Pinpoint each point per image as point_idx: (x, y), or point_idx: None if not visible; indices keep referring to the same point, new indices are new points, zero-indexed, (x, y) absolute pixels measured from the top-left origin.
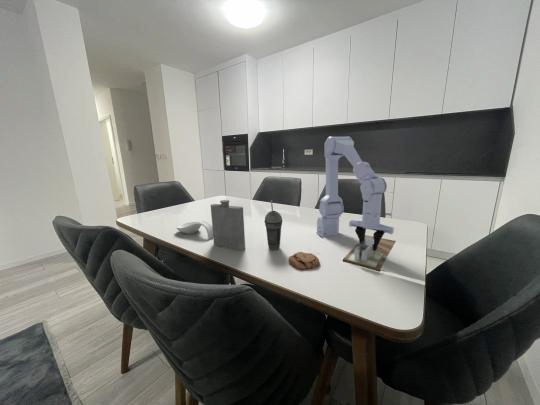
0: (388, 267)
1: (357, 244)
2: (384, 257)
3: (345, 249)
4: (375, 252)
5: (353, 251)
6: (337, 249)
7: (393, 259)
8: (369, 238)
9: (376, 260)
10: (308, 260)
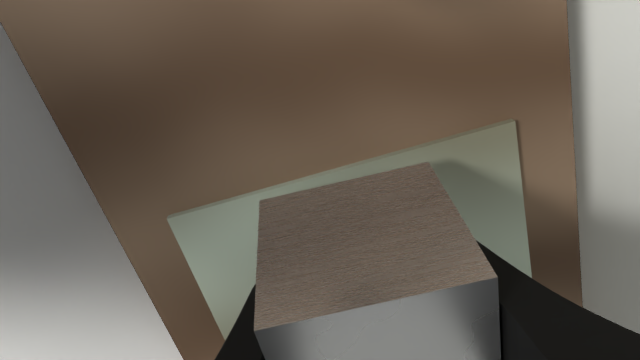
0: (613, 290)
1: (55, 100)
2: (553, 200)
3: (60, 279)
4: None
5: (207, 331)
6: (11, 344)
7: (621, 82)
8: (345, 322)
9: None
10: None
